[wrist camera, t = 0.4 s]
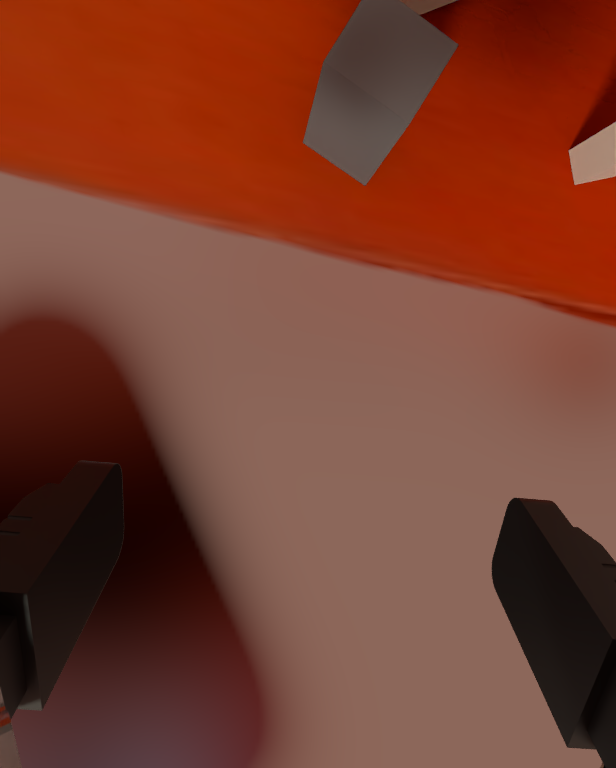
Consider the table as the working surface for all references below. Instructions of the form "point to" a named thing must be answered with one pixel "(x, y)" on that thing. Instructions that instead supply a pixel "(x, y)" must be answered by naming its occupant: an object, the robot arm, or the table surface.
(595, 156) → the door frame
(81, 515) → the robot arm
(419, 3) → the door
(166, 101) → the table surface
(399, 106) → the block
